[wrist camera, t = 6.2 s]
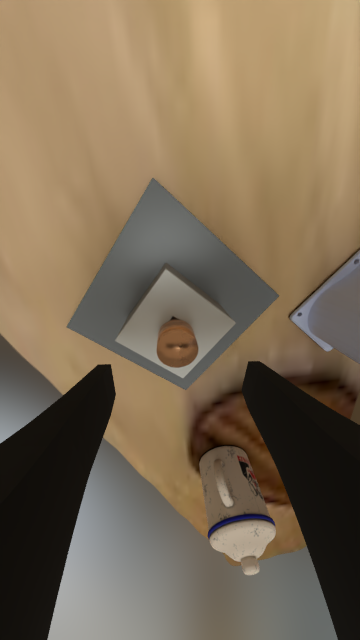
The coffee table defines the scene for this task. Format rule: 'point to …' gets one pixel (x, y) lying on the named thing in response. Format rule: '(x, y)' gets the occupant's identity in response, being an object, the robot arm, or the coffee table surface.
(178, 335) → the plunger
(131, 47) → the coffee table surface
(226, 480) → the teacup with lid
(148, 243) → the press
